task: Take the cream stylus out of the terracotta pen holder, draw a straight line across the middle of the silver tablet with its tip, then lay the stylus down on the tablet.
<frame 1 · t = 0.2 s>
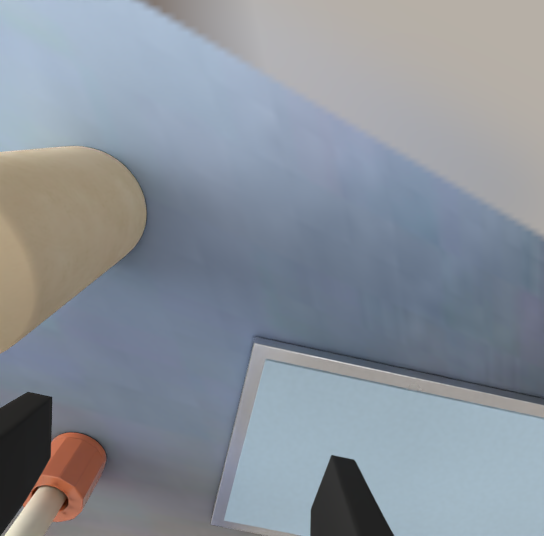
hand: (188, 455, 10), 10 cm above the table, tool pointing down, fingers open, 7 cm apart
candle: (92, 205, 18), on the table
tablet: (407, 471, 23), on the table
stylus: (74, 459, 23), resting on pen holder
pen holder: (78, 454, 23), on the table
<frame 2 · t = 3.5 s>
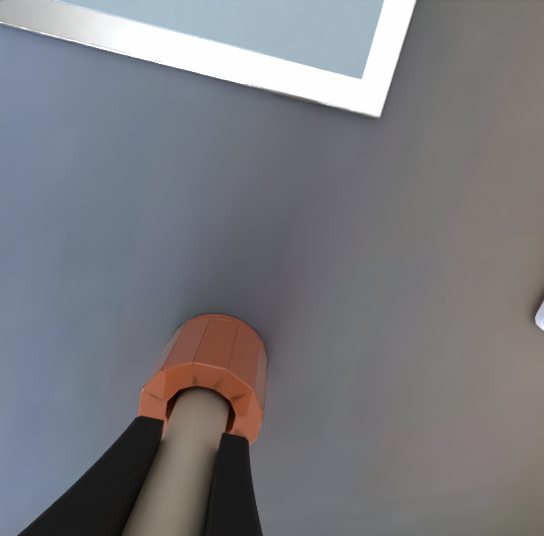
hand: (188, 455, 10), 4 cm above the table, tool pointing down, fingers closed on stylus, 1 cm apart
stylus: (216, 363, 13), resting on pen holder, touching gripper
pen holder: (217, 357, 14), on the table
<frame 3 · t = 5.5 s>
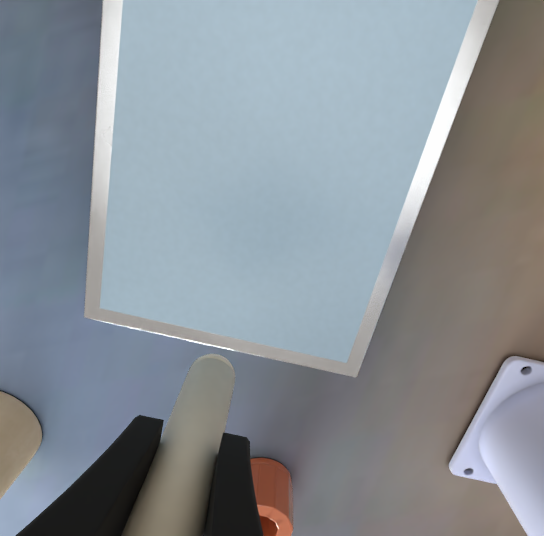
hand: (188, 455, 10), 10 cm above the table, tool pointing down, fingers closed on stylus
tablet: (272, 118, 16), on the table
stylus: (215, 364, 13), point 6 cm above the table, touching gripper
pen holder: (261, 479, 23), on the table
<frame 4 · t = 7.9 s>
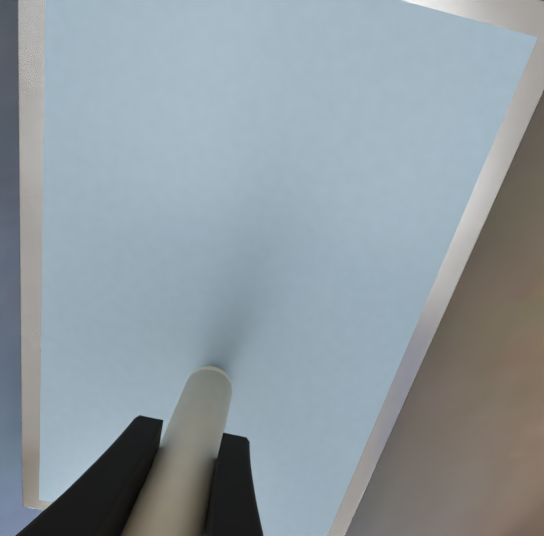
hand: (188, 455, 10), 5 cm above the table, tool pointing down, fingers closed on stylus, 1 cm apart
tablet: (227, 317, 13), on the table
stylus: (212, 377, 13), point 1 cm above the table, tilted 5°, touching gripper
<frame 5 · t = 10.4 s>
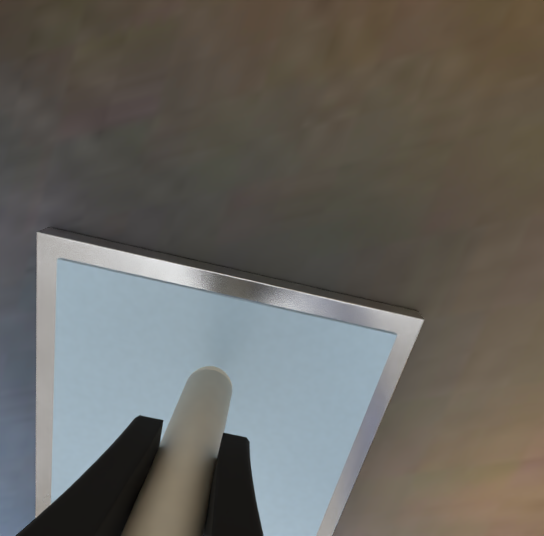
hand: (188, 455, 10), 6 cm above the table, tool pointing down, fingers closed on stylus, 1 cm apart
tablet: (192, 480, 18), on the table
stylus: (212, 377, 13), point 2 cm above the table, tilted 5°, touching gripper
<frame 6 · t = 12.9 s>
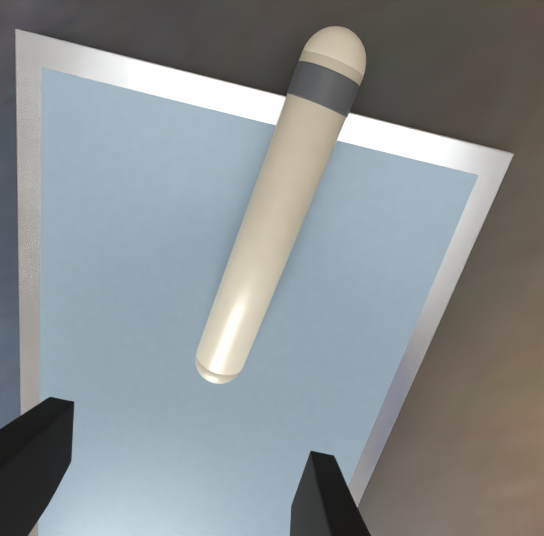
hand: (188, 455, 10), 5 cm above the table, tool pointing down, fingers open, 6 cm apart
tablet: (210, 394, 15), on the table
stylus: (213, 377, 12), point 2 cm above the table, tilted 90°, touching tablet
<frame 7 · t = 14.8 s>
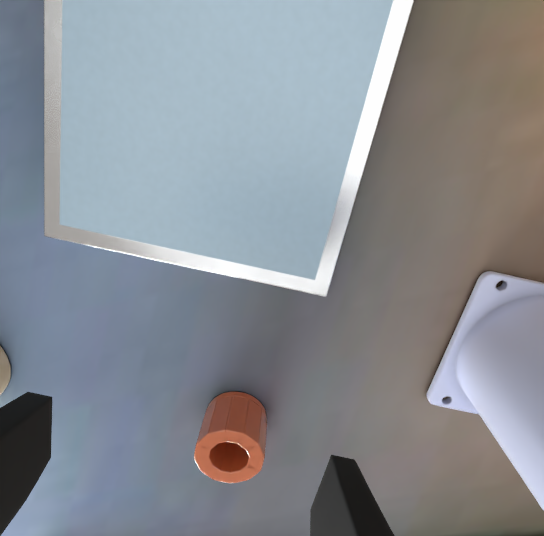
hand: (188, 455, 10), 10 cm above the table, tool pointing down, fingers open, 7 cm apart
tablet: (227, 11, 15), on the table
pen holder: (236, 416, 22), on the table
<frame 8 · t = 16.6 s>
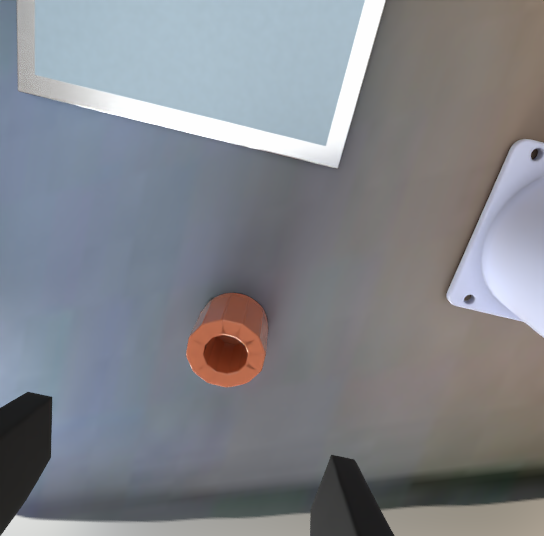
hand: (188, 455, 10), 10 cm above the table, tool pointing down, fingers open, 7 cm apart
pen holder: (234, 323, 20), on the table
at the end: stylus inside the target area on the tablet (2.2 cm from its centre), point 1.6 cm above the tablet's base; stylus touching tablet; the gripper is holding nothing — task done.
